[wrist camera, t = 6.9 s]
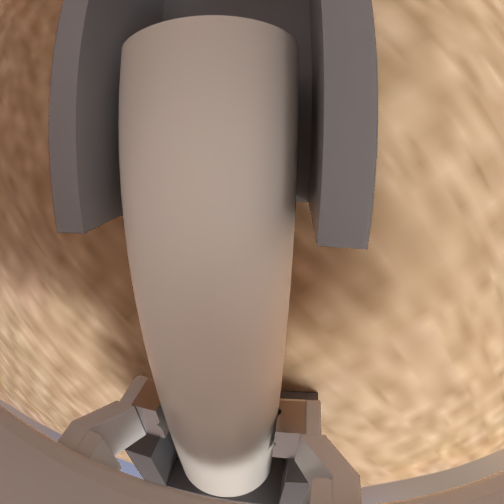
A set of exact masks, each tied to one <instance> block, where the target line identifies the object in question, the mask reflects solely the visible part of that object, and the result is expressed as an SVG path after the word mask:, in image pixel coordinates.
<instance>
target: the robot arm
mask: <svg viewBox="0 0 504 504" xmlns="http://www.w3.org/2000/svg"><path fill="white" fill-rule="evenodd" d="M168 432H169V428H168V425H167V422H166V419H165V416H164V413H163V410H162V407H161V403H160V400H159V397H158V393H157V390H156V386H155V383H154V379H153V378H149V377H145V376H141V375H138V376H136V377H135V379H134V380H133V382H132V383H131V385H130V386H129V388H128V389H127V391H126V392H125V394H124V395H123V397H122V398H121V400H120V401H115V402H113V403H111V404H108V405H106V406H104V407H102V408H100V409H98V410H96V411H93V412H91V413H89V414H87V415H85V416H82V417H80V418H78V419H76V420H74V421H72V422H71V423H70V425H69V426H68V427H67V429H66V430H65V432H64V433H63V434H62V436H61V437H60V439H59V440H58V442H57V441H55V440H53V439H51V438H50V437H48V436H46V435H45V434H43V433H41V432H40V431H38V430H36V429H35V428H33V427H32V426H30V425H28V424H27V423H25V422H23V421H22V420H21V419H19V418H18V417H16V416H15V415H13V414H12V413H11V412H9V411H8V410H6V409H5V408H4V407H2V406H1V405H0V504H247V503H240V502H233V501H227V500H221V499H216V498H210V497H206V496H201V495H196V494H192V493H188V492H184V491H180V490H176V489H172V488H169V487H165V486H162V485H159V484H155V483H152V482H149V481H146V480H143V479H140V478H137V477H134V476H132V475H128V474H126V473H124V472H121V471H120V469H121V465H120V464H119V462H118V461H117V459H116V458H115V455H117V454H118V453H120V452H121V451H123V450H124V449H126V448H127V447H129V446H130V445H132V444H133V443H135V442H136V441H138V440H139V439H140V438H142V437H143V436H145V435H146V434H150V435H154V436H158V437H162V438H166V436H167V434H168ZM272 457H278V458H289V459H295V462H296V463H297V465H298V467H299V468H300V470H301V472H302V473H303V475H304V477H305V478H306V480H307V481H308V483H309V485H310V486H309V488H308V490H307V492H306V494H305V496H304V498H303V500H302V502H301V504H362V503H361V485H360V475H359V474H358V473H357V472H356V471H355V470H354V468H353V467H352V466H351V465H350V464H349V463H348V461H347V460H346V459H345V458H344V457H343V456H342V454H341V453H340V452H339V451H338V450H337V449H336V447H335V446H334V445H333V444H332V443H331V441H330V440H329V439H328V438H327V437H326V435H321V402H320V400H300V399H282V398H280V402H279V410H278V416H277V421H276V429H275V436H274V445H273V453H272ZM380 504H504V471H501V472H497V473H495V474H492V475H490V476H487V477H485V478H482V479H479V480H476V481H474V482H471V483H468V484H465V485H461V486H458V487H455V488H452V489H448V490H444V491H441V492H437V493H433V494H429V495H425V496H420V497H415V498H411V499H405V500H400V501H394V502H387V503H380Z"/></svg>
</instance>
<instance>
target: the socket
mask: <svg viewBox="0 0 504 504" xmlns="http://www.w3.org/2000/svg"><path fill="white" fill-rule="evenodd" d="M280 398H282V399H300V400H318V393H310V392H291V391H281V393H280ZM125 451H126V452H127V454H128V456H129V457H130V459H131V460H132V462H133V464H134V465H135V467H136V468H137V470H138V471H139V473H140V474H141V476H142V477H143V479H144V480H146V481H149V482H152V483H155V484H159V485H162V486H165V487H169V488H172V489H176V490H180V491H184V492H188V493H192V494H196V495H201V496H206V497H210V498H216V499H221V500H227V501H233V502H240V503H247V504H301V502H302V500H303V498H304V496H305V494H306V492H307V490H308V488H309V486H310V485H309V483H308V481H307V480H306V478H305V477H304V475H303V473H302V472H301V470H300V468H299V467H298V465H297V463H296V462H295V459H289V458H278V457H272V462H271V468H270V472H269V474H268V476H267V478H266V480H265V481H264V482H263V483H262V484H261V485H260V486H259V487H258V488H256V489H255V490H253V491H251V492H249V493H247V494H244V495H241V496H236V497H219V496H214V495H211V494H208V493H205V492H203V491H202V490H200V489H198V488H197V487H196V486H194V485H193V484H192V483H191V481H190V480H189V479H188V477H187V476H186V474H185V471H184V469H183V466H182V464H181V461H180V458H179V456H178V453H177V451H176V448H175V445H174V442H173V440H172V437H171V434H170V431H169V432H168V434H167V436H166V438H162V437H158V436H154V435H150V434H146V435H145V436H143V437H142V438H140V439H139V440H138V441H136V442H135V443H133V444H132V445H130V446H129V447H127V448H126V449H125Z"/></svg>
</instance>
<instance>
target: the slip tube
mask: <svg viewBox="0 0 504 504" xmlns="http://www.w3.org/2000/svg"><path fill="white" fill-rule="evenodd" d="M298 104H299V59H298V43H297V41H296V39H295V38H294V37H293V36H292V35H291V34H289V33H288V32H286V31H285V30H283V29H281V28H279V27H277V26H274V25H271V24H268V23H266V22H262V21H258V20H254V19H249V18H244V17H237V16H226V15H201V16H190V17H183V18H176V19H172V20H168V21H163V22H160V23H157V24H154V25H151V26H149V27H146V28H144V29H142V30H140V31H138V32H136V33H135V34H133V35H132V36H131V37H129V38H128V39H127V40H126V41H125V42H124V44H123V46H122V54H121V66H120V83H119V118H118V130H119V167H120V185H121V198H122V210H123V220H124V229H125V238H126V246H127V253H128V260H129V267H130V273H131V279H132V285H133V291H134V297H135V302H136V307H137V312H138V317H139V322H140V327H141V331H142V336H143V340H144V344H145V348H146V353H147V357H148V361H149V364H150V368H151V372H152V376H153V379H154V383H155V386H156V390H157V393H158V397H159V400H160V403H161V407H162V410H163V413H164V416H165V419H166V422H167V425H168V428H169V431H170V434H171V437H172V440H173V442H174V445H175V448H176V451H177V453H178V456H179V458H180V461H181V464H182V466H183V469H184V471H185V474H186V476H187V477H188V479H189V480H190V481H191V483H192V484H193V485H194V486H196V487H197V488H198V489H200V490H202V491H203V492H205V493H208V494H211V495H214V496H219V497H236V496H241V495H244V494H247V493H249V492H251V491H253V490H255V489H256V488H258V487H259V486H260V485H261V484H262V483H263V482H264V481H265V480H266V478H267V476H268V474H269V472H270V468H271V462H272V453H273V445H274V436H275V429H276V421H277V416H278V410H279V402H280V393H281V384H282V375H283V366H284V356H285V346H286V335H287V324H288V313H289V301H290V288H291V274H292V260H293V244H294V227H295V207H296V184H297V155H298Z"/></svg>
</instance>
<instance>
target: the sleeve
mask: <svg viewBox="0 0 504 504" xmlns="http://www.w3.org/2000/svg"><path fill="white" fill-rule="evenodd" d="M201 15H226V16H237V17H244V18H249V19H254V20H258V21H262V22H266V23H268V24H271V25H274V26H277V27H279V28H281V29H283V30H285V31H286V32H288V33H289V34H291V35H292V36H293V37H294V38H295V39H296V41H297V43H298V59H299V104H298V155H297V184H296V201H297V202H309V207H310V212H311V217H312V222H313V227H314V232H315V237H316V243H317V246H324V247H339V248H354V249H367V248H368V241H369V233H370V225H371V217H372V208H373V198H374V187H375V174H376V159H377V136H378V74H377V53H376V39H375V27H374V18H373V9H372V1H371V0H64V1H63V5H62V9H61V14H60V18H59V23H58V29H57V34H56V40H55V47H54V54H53V62H52V71H51V82H50V97H49V161H50V176H51V187H52V197H53V206H54V213H55V220H56V227H57V233H81V234H84V233H86V232H88V231H90V230H92V229H94V228H96V227H98V226H100V225H102V224H104V223H106V222H108V221H110V220H112V219H114V218H116V217H118V216H121V215H123V210H122V198H121V185H120V167H119V130H118V118H119V83H120V66H121V54H122V46H123V44H124V42H125V41H126V40H127V39H128V38H129V37H131V36H132V35H133V34H135V33H136V32H138V31H140V30H142V29H144V28H146V27H149V26H151V25H154V24H157V23H160V22H163V21H168V20H172V19H176V18H183V17H190V16H201Z"/></svg>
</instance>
